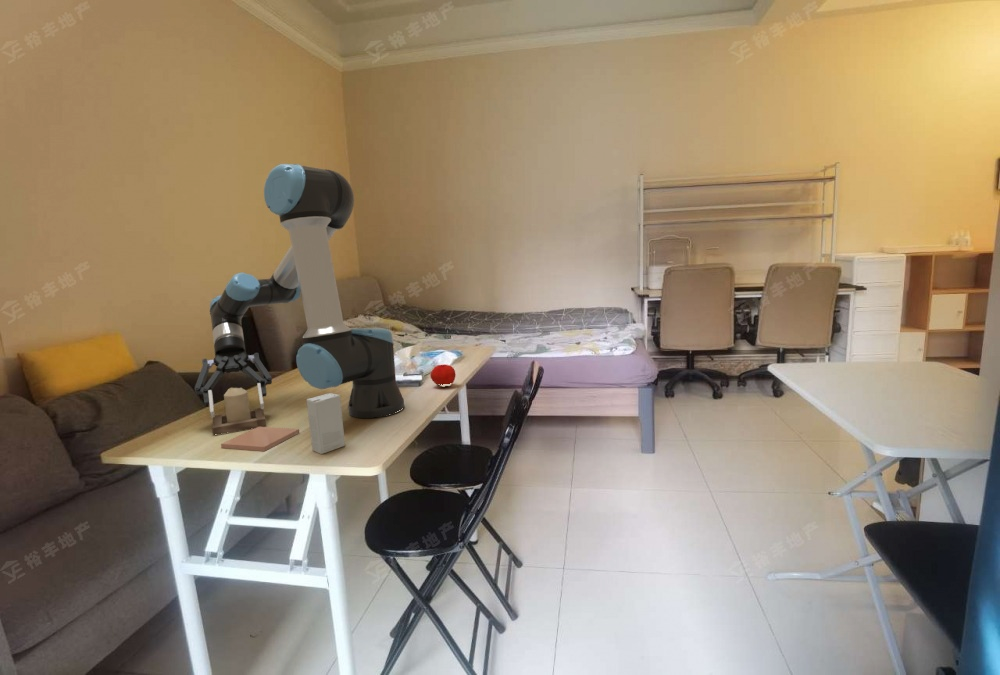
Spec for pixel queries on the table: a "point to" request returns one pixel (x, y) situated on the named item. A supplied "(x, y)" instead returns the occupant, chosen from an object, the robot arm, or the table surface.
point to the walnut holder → (240, 425)
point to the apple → (443, 374)
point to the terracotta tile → (260, 438)
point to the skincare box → (325, 422)
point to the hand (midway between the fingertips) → (237, 410)
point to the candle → (237, 405)
